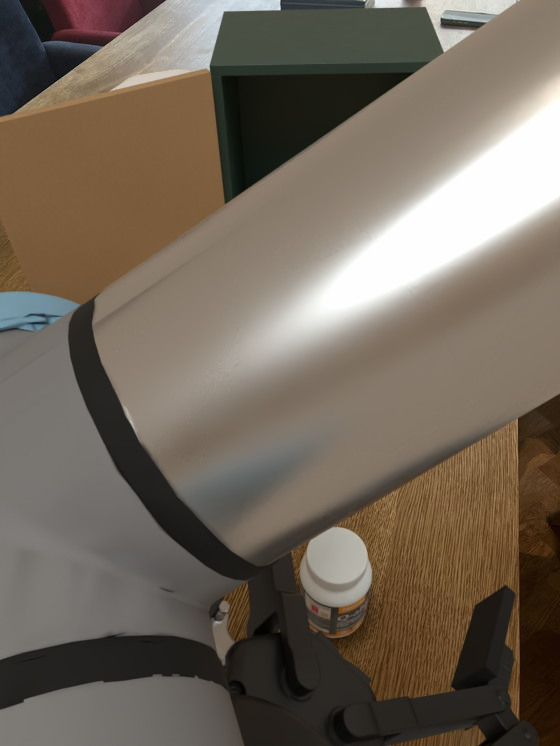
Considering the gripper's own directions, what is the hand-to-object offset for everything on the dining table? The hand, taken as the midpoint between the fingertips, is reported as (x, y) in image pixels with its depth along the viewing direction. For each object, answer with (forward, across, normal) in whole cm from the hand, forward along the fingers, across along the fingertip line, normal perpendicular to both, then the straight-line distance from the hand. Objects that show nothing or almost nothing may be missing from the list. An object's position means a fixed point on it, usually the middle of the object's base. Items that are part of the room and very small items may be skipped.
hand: (408, 520), depth 38 cm
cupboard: (+56, -30, -10) cm, 64 cm away
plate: (+78, -76, -21) cm, 111 cm away
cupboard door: (+33, -42, -26) cm, 59 cm away
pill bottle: (+7, +3, -18) cm, 20 cm away
